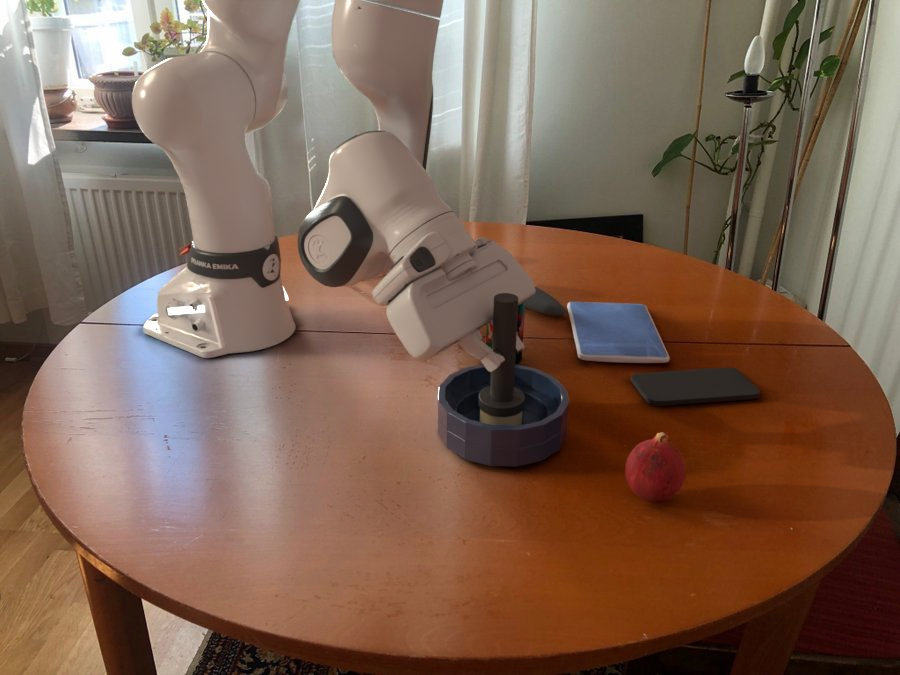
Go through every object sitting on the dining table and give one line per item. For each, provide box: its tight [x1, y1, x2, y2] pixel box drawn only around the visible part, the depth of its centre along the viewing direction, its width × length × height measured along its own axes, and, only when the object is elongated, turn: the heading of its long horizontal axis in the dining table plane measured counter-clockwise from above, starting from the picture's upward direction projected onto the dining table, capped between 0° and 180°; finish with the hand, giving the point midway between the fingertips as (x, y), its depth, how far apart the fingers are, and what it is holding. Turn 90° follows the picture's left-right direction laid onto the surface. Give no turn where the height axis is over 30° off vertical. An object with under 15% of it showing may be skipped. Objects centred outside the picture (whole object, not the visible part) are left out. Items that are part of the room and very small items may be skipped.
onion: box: [624, 431, 687, 503], centre depth 74 cm, size 6×6×8 cm
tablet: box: [566, 301, 671, 364], centre depth 110 cm, size 19×13×1 cm, turn 177°
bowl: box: [437, 363, 570, 467], centre depth 85 cm, size 15×15×6 cm
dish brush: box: [478, 293, 525, 426], centre depth 82 cm, size 5×5×16 cm
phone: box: [630, 366, 761, 407], centre depth 95 cm, size 7×1×15 cm
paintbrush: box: [525, 286, 567, 317], centre depth 120 cm, size 20×5×5 cm, turn 48°
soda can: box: [485, 302, 526, 365], centre depth 99 cm, size 5×5×12 cm
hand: (507, 360), depth 81 cm, fingers closed on dish brush, 2 cm apart
